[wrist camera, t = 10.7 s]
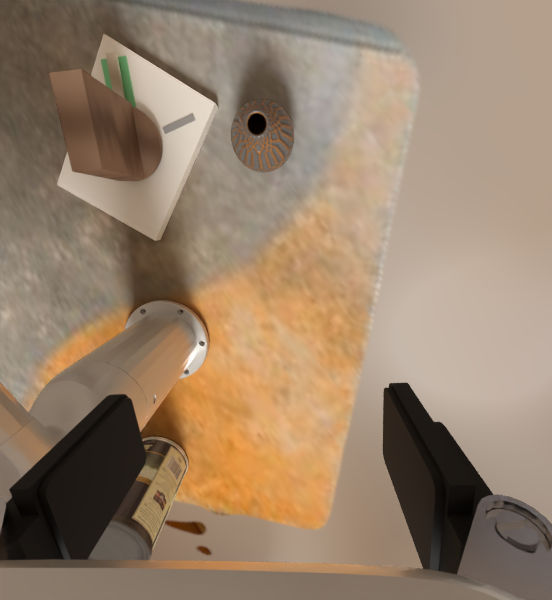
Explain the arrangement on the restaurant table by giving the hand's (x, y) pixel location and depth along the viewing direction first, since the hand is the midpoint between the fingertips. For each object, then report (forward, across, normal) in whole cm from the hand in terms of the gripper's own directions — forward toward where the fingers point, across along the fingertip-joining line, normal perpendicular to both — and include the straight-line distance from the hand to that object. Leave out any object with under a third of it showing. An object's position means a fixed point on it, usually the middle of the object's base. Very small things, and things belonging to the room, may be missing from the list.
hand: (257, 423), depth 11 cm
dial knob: (+28, +17, -20) cm, 39 cm away
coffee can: (+31, +25, +32) cm, 50 cm away
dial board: (+30, +17, -17) cm, 39 cm away
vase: (+31, +1, -16) cm, 34 cm away
